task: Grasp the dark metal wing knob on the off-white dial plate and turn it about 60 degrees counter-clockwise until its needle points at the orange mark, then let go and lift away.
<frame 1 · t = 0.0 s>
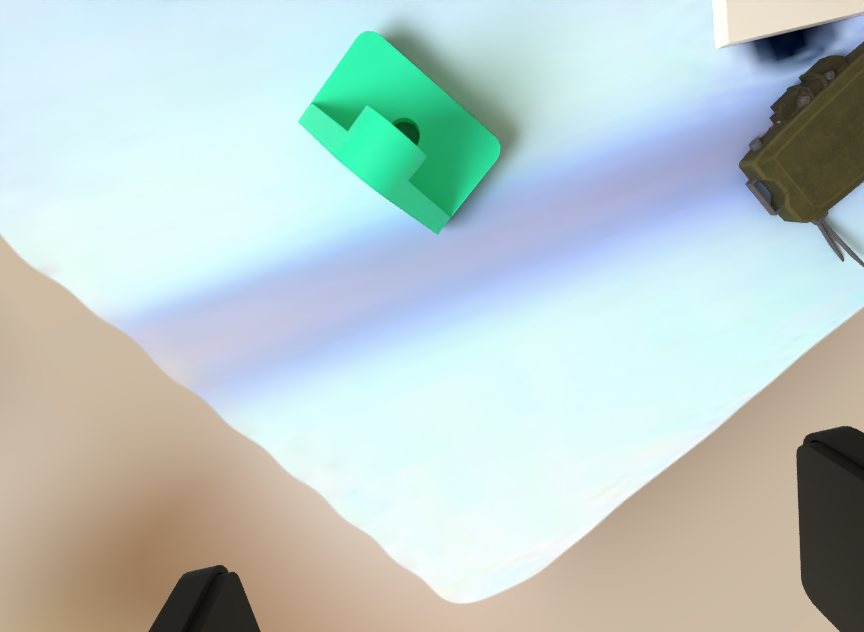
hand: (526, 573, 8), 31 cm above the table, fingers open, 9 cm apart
camera mount: (404, 138, 36), on the table
landmine: (842, 158, 38), on the table
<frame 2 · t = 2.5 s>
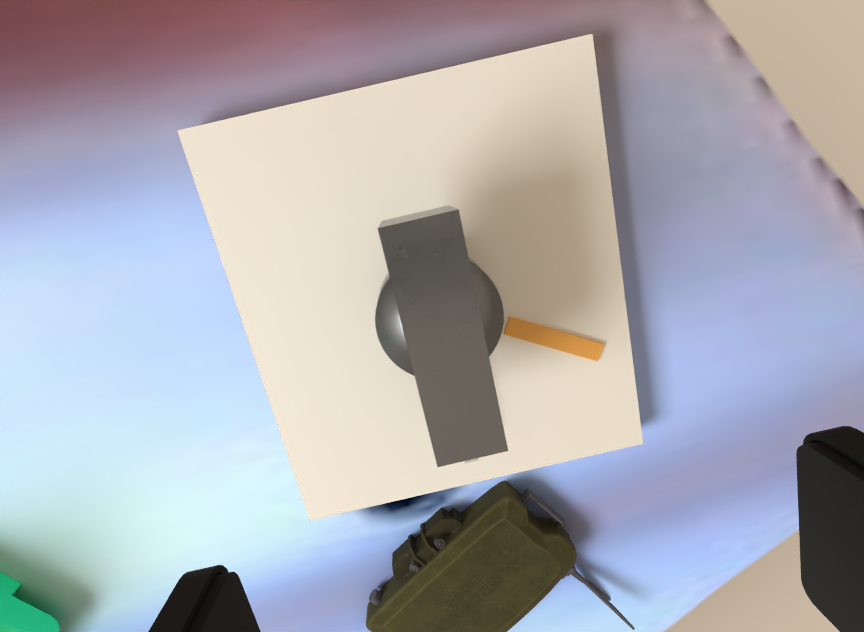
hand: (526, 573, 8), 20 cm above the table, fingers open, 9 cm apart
knob: (447, 353, 23), point 5 cm above the table, hinge at 0.0°
landmine: (494, 586, 34), on the table
dial plate: (433, 297, 27), on the table
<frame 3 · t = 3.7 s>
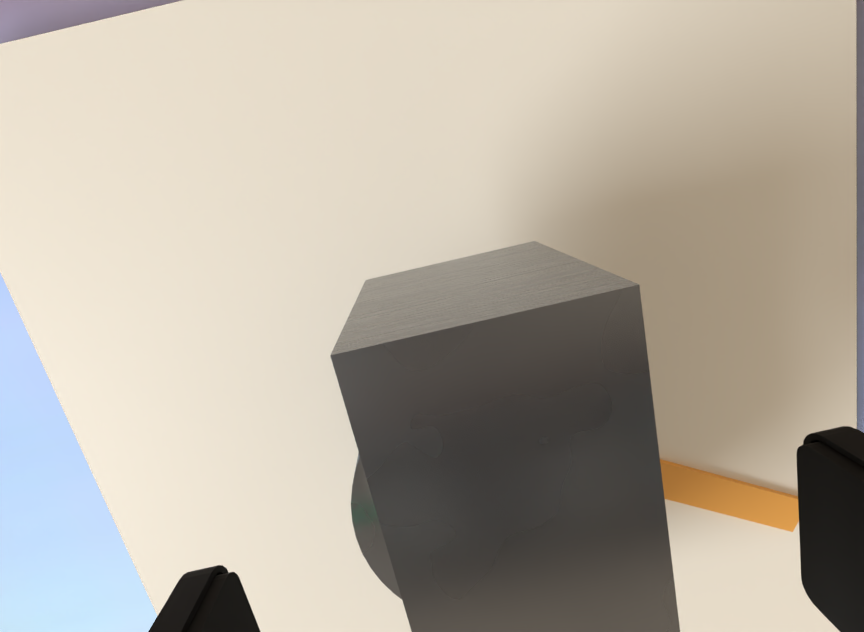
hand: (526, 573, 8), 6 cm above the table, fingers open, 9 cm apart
knob: (521, 584, 10), point 5 cm above the table, hinge at 0.0°
dial plate: (472, 404, 14), on the table
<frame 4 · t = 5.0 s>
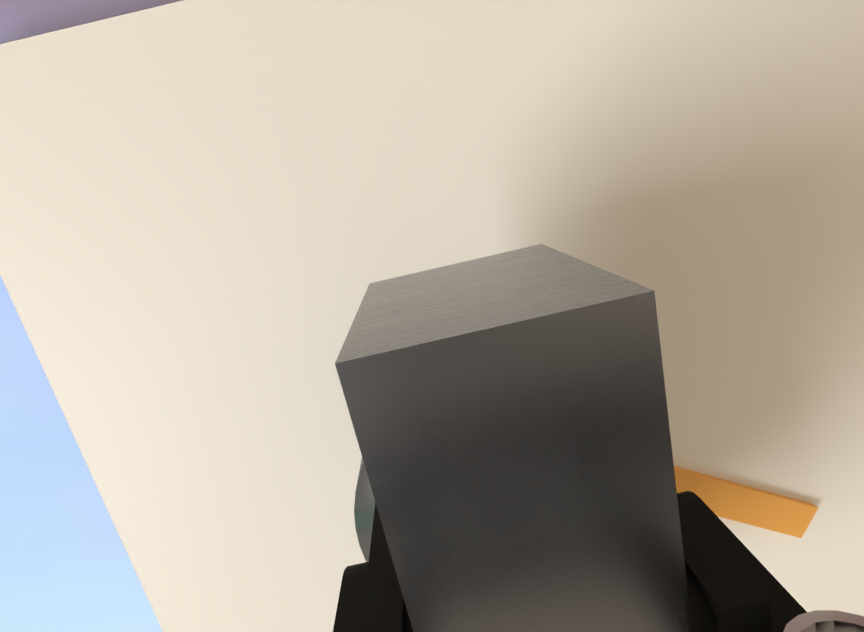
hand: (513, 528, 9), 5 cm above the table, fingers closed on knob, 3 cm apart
knob: (527, 593, 10), point 5 cm above the table, hinge at 0.0°, touching gripper
dial plate: (477, 408, 14), on the table
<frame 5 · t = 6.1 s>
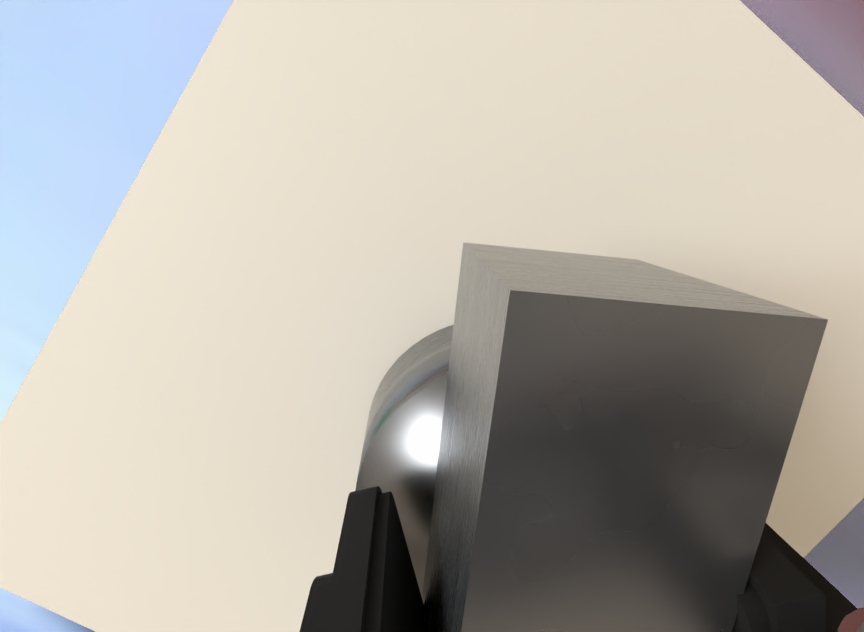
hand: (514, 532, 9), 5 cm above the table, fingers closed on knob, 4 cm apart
knob: (503, 592, 9), point 5 cm above the table, hinge at 29.5°, touching gripper
dial plate: (477, 405, 14), on the table
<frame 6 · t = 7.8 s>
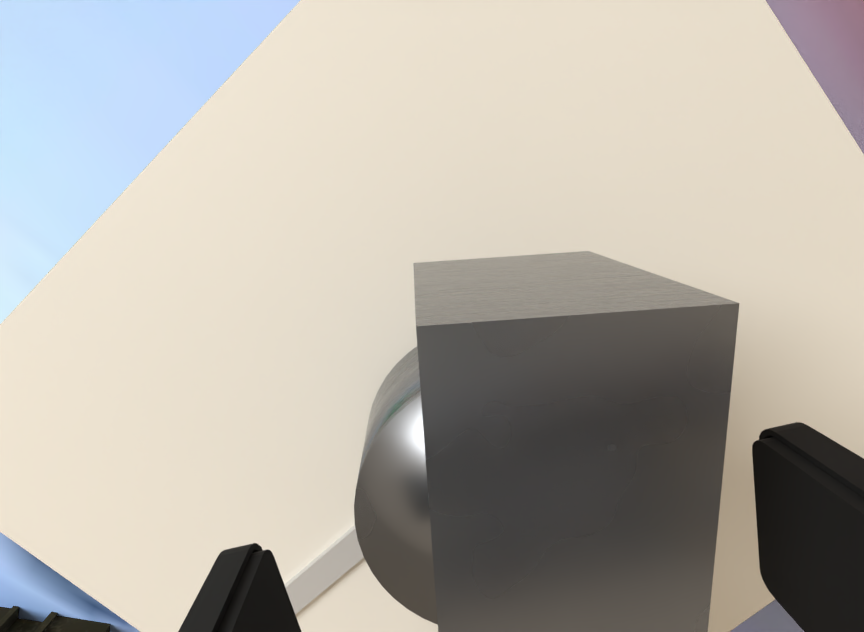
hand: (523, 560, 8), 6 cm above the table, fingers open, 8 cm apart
knob: (515, 595, 10), point 5 cm above the table, hinge at 50.9°
dial plate: (476, 408, 14), on the table
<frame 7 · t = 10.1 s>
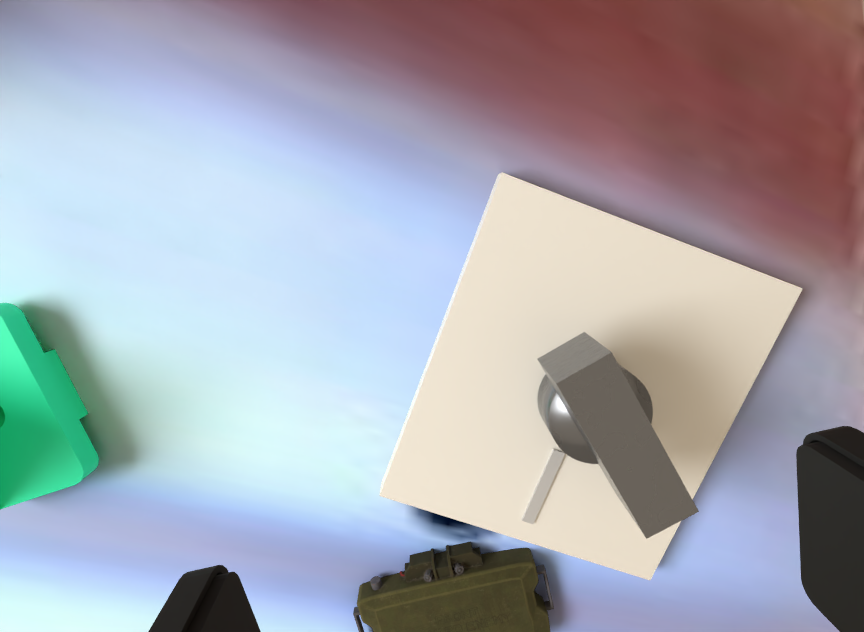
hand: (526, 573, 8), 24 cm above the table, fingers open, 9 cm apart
knob: (616, 441, 28), point 5 cm above the table, hinge at 51.3°
camera mount: (23, 397, 33), on the table
landmine: (460, 624, 38), on the table
dial plate: (576, 387, 33), on the table
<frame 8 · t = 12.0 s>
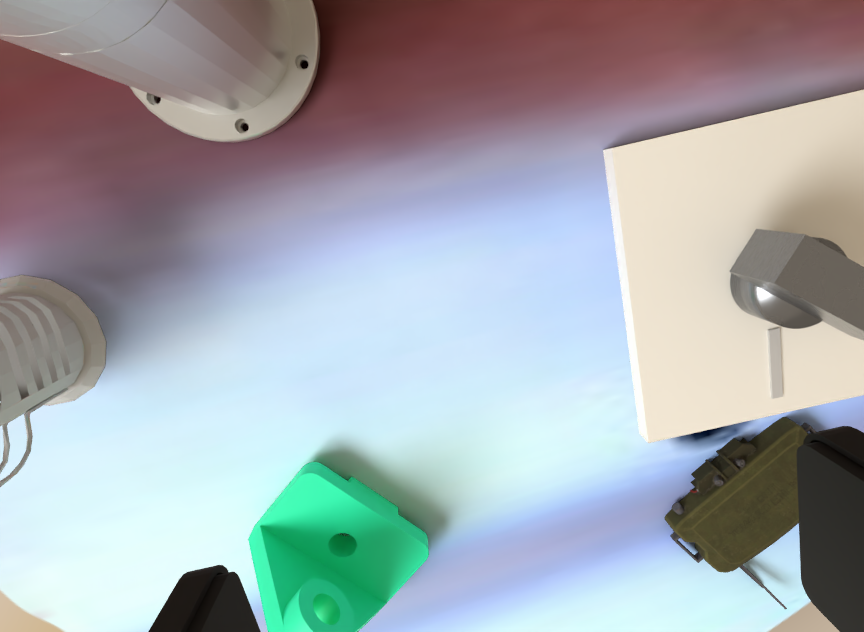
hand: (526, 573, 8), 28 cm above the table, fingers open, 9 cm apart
knob: (829, 295, 32), point 5 cm above the table, hinge at 51.3°
french press: (45, 352, 36), on the table
camera mount: (347, 521, 41), on the table
landmine: (759, 505, 42), on the table
dial plate: (755, 272, 36), on the table
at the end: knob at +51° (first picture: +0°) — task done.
